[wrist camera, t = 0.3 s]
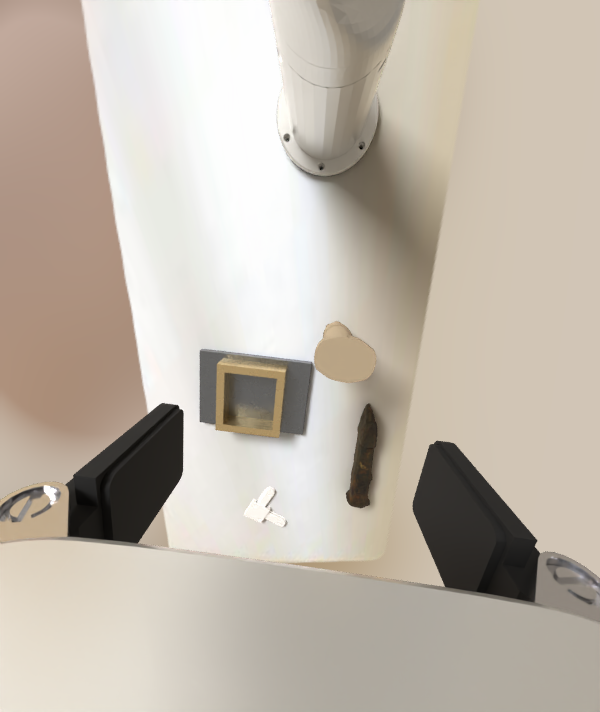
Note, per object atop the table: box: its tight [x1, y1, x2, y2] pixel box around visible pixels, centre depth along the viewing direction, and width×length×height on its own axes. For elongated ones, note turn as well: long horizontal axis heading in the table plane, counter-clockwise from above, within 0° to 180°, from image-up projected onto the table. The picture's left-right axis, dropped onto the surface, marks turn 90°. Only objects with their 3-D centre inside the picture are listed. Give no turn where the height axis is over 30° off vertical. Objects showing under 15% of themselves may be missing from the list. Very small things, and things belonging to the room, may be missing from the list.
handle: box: [314, 321, 376, 383], centre depth 36 cm, size 5×6×15 cm
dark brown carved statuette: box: [346, 404, 377, 508], centre depth 47 cm, size 19×4×5 cm, turn 175°
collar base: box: [200, 349, 312, 438], centre depth 45 cm, size 13×18×4 cm
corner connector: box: [244, 487, 286, 527], centre depth 54 cm, size 8×8×2 cm
